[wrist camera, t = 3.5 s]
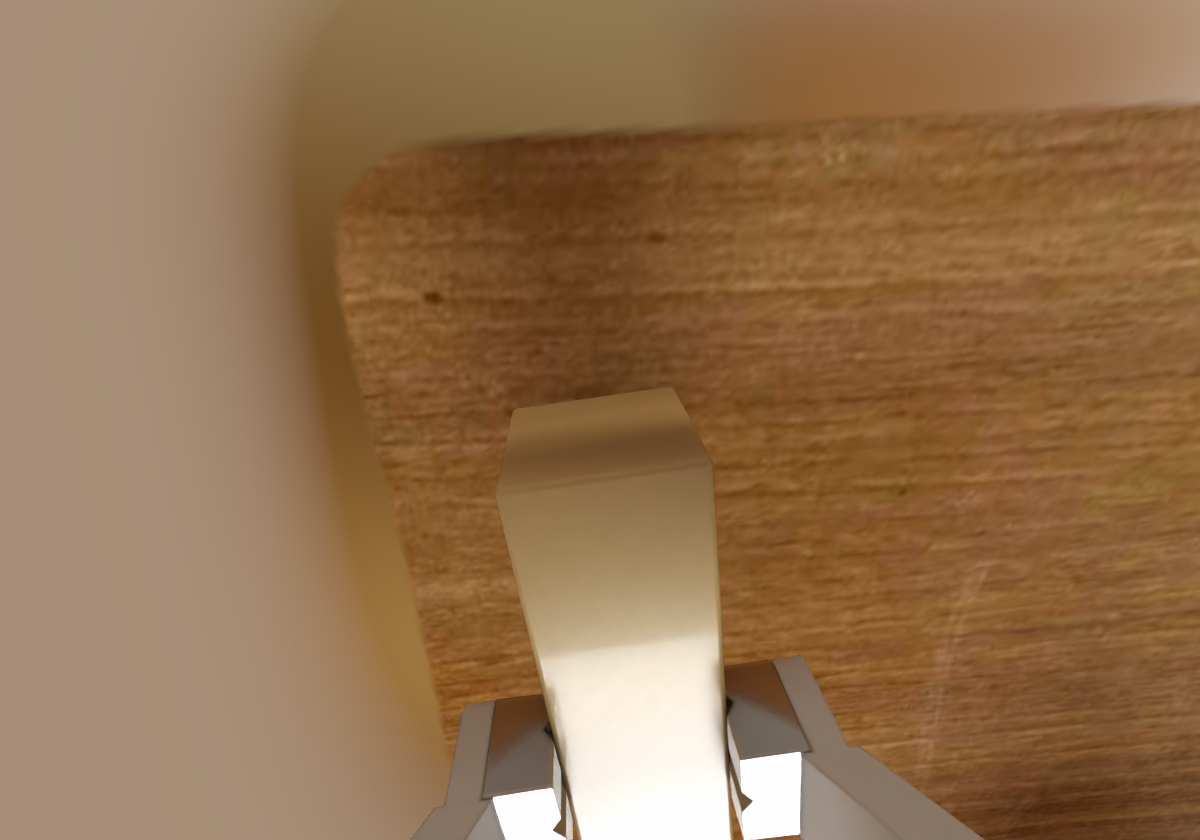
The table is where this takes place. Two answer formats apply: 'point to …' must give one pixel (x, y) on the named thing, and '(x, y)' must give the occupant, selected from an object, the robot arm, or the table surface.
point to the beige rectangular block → (623, 609)
